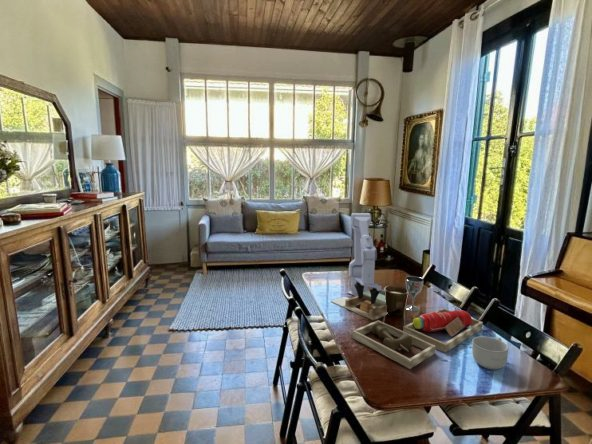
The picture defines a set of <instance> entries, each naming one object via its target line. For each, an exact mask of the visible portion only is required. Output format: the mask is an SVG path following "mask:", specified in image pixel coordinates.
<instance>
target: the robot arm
mask: <svg viewBox="0 0 592 444" xmlns="http://www.w3.org/2000/svg"><path fill="white" fill-rule="evenodd" d="M371 224H372V214H371V213H369V212H367V213H362V212H352V213H351V214H350V228H351V229H352V230H353V232H354V247H353V248H354V253H353V255H354V259H353V260H351V261H350V262H349V263H348V264H349V265H348V276H349V278H351V279H350V280H351V281H350V290H349V291H347V294H350V295H352V296H353V297H356V296H358V298H359V299H361V298H363V292H365V291H368V290H370V294H371V304H374V303H375V301H376V298H377V296H378V294H379V293H380V291H381V289H382V286H381V285H380V284H378V283H376V282H375V268H376V267H375V265H376V260H377V257H378V254H377V248H376V246H374V242H373V238H372V236H371V235H369V234H370V233H369V227H370V225H371ZM369 288H370V289H369Z"/></svg>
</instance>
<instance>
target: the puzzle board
mask: <svg viewBox="0 0 592 444" xmlns="http://www.w3.org/2000/svg"><path fill="white" fill-rule="evenodd" d="M363 301H369V302H371V298H370V297H367V296H365V295H363V298H361V299H359V298H358V296H353V297H350V299H347V300H346V301H345V305H344V307H343V308H344V309H347V310H349V311H351V312H353V313H356V314H358V315H360V316H361V317H362V316H363V317H365V318H366V317H367V319H369V320H371V321H377V320H379V319H380V318H383V317H385V316H388V315H389V314H388V312H387V305H386V304H385V303H383V302H380V301H378V300H376V301H375V303H374V304H373V306H372V309H371V310H369V312H368V313H367V312H364V311H362V310H360V309H359V308H357V307H358V306H360V304H361V302H363ZM387 314H388V315H387Z"/></svg>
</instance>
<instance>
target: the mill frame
mask: <svg viewBox="0 0 592 444" xmlns="http://www.w3.org/2000/svg"><path fill="white" fill-rule="evenodd" d="M376 323H381V324H382V326H383V328H387V330H388V333H389V334H390V335H391V336H394V337H397V339H398V338H400V337H401V335H402V334H403V333H406V332H404V331H403V330H401V329H400V328H399V329H398V328H396V327H394V326H392V325H390V324H388V323H386V322H383V321H381V320H379V319H376V320H374V321H373V322H370V323H368V324H365V325H364V326H360V327H359V328H356V329H354V330H352V339H354V340H355V341H357V342H359V343H361V344H363V345H364V346H367V347H369V348H370V349H372V350H375V352H378V353H379V354H381V355H383V356H384V357H387V358H389V359H390V360H393V361H394V362H397V364H400V365H401V366H404V367H405V368H407V369H409V370H411V369H413V368H414V367H416V366H417V365H419V364H421V363H422V362H424V361H425V360H427V359H429V358H430V357H432V356H433V355H435V354H436V346H435V345H433V344H430V343H428V342H426V341H424V340H422V339H419V338H417V337H415V336H413V335H410V334H408V333H407V334H408V335H409V336H410V337H411V339H412V344H413V345H412V346H415V347H417V348H419V349H422V351H420V352H419V353H417V354H415V355H414V356H412V357H407V356H406V355H404V354H401V353H400V352H398V351H396V350H395V351H394V350H392V349H390V348H388V347H386V346H384V345H383V343H381V342H378V341H376V340H374V339H372V338H370V337H368V336H366V335H367V334H369V333H371V332H372V327H373V325H374V324H376Z"/></svg>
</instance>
